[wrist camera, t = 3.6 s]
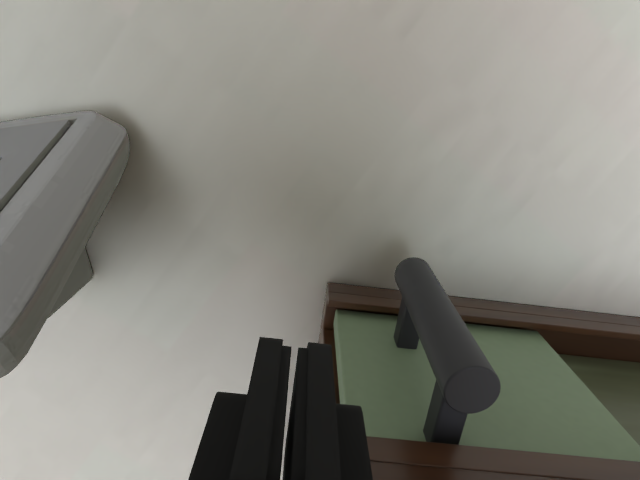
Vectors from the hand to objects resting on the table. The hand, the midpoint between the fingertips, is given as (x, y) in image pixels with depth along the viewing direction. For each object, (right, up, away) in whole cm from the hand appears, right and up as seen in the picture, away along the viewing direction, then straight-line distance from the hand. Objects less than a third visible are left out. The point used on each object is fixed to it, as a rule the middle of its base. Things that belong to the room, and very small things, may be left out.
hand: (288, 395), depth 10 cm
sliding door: (+6, +1, +9) cm, 11 cm away
